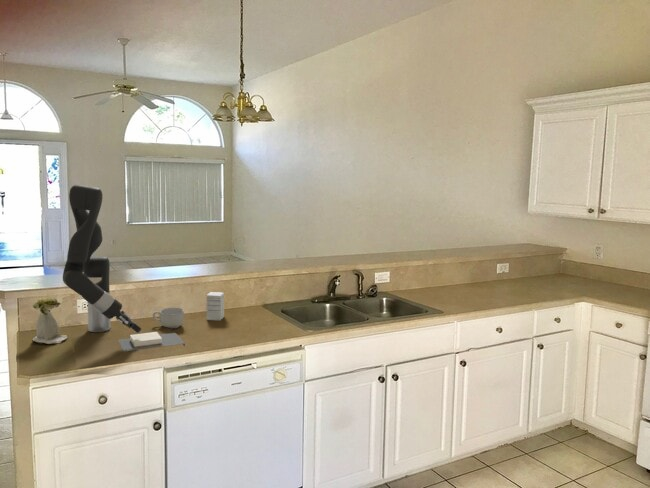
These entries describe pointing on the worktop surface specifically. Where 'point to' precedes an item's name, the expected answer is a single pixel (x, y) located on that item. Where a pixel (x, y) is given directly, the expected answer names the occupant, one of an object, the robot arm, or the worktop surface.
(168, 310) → the teacup
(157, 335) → the tile
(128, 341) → the mat
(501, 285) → the worktop surface
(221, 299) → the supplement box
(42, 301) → the potted leafy plant
